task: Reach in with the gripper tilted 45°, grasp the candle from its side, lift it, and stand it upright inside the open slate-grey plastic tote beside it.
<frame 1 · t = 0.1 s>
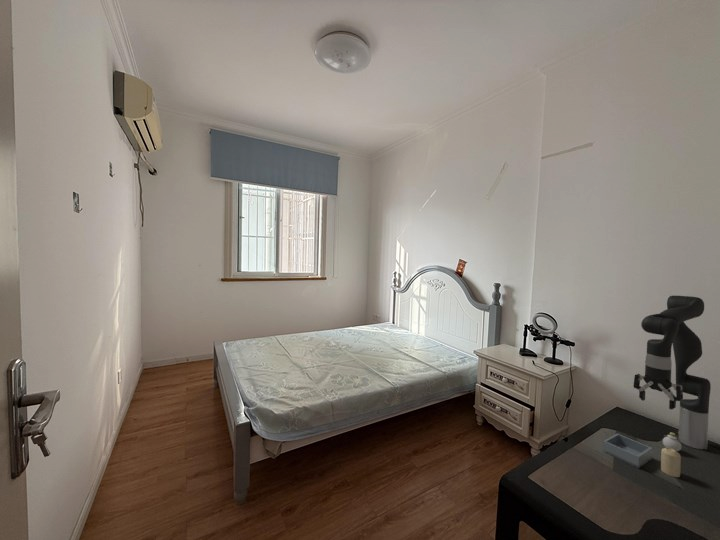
hand: (656, 404, 120), 29 cm above the table, tool pointing down, fingers open, 8 cm apart
ornament: (673, 451, 136), on the table
candle: (670, 473, 122), on the table
tote: (627, 455, 133), on the table
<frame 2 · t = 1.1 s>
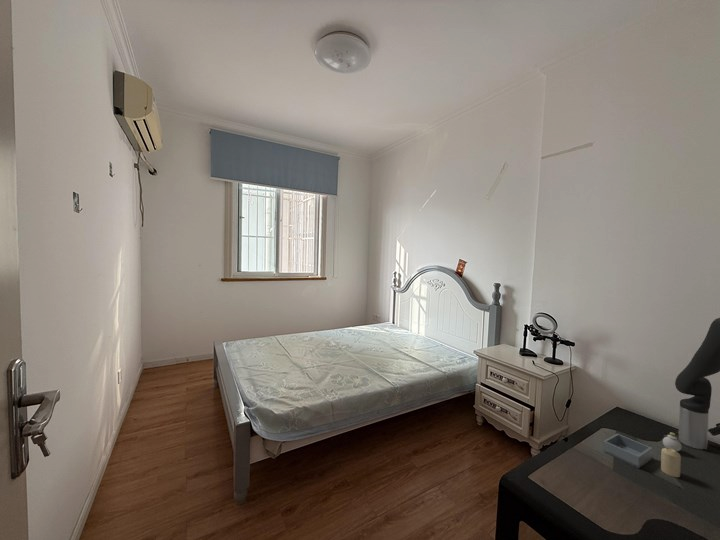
hand: (714, 430, 111), 24 cm above the table, tool tilted 45°, fingers open, 8 cm apart
nothing on the table moved.
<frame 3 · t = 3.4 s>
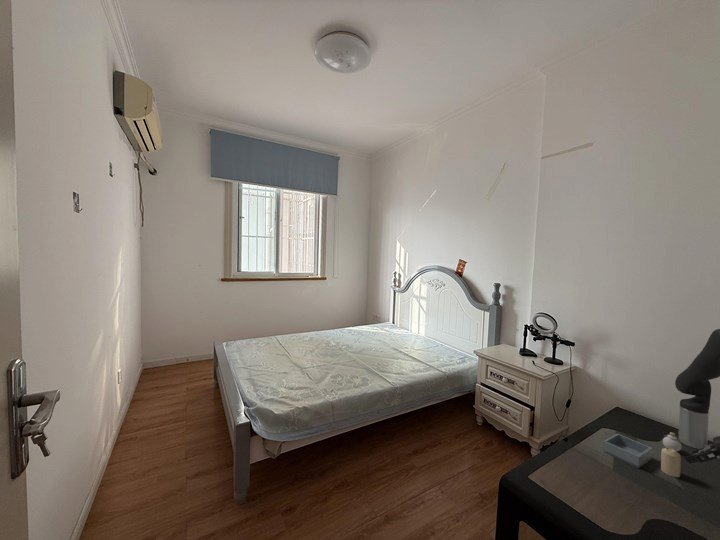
hand: (690, 457, 117), 10 cm above the table, tool tilted 45°, fingers open, 8 cm apart
nothing on the table moved.
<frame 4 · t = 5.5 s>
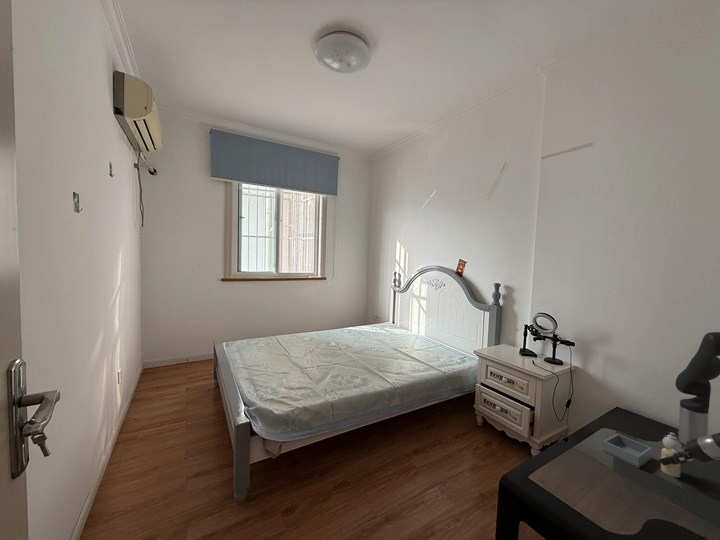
hand: (664, 460, 123), 4 cm above the table, tool tilted 45°, fingers closed on candle, 5 cm apart
candle: (670, 473, 122), on the table, touching gripper
everything else where it was.
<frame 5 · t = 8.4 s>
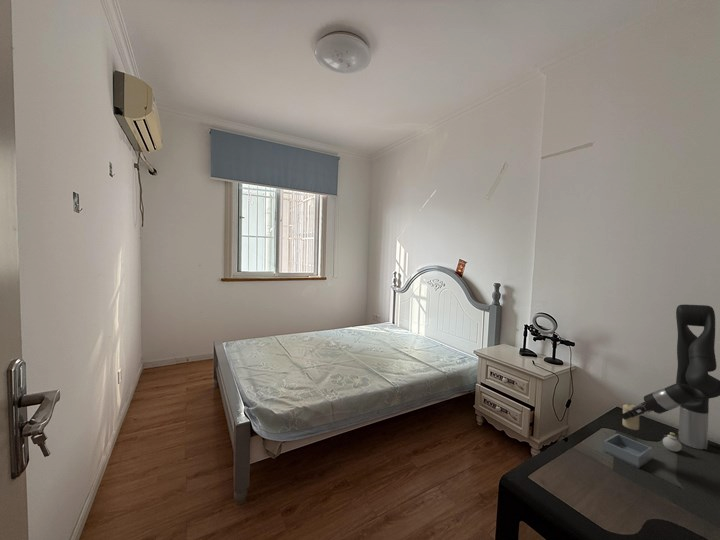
hand: (625, 415, 133), 18 cm above the table, tool tilted 45°, fingers closed on candle, 5 cm apart
candle: (630, 427, 132), point 13 cm above the table, touching gripper
everything else where it was.
when the fingers open (7 cm above the table, at t = 11.1 s): candle drops 2 cm, resting on tote.
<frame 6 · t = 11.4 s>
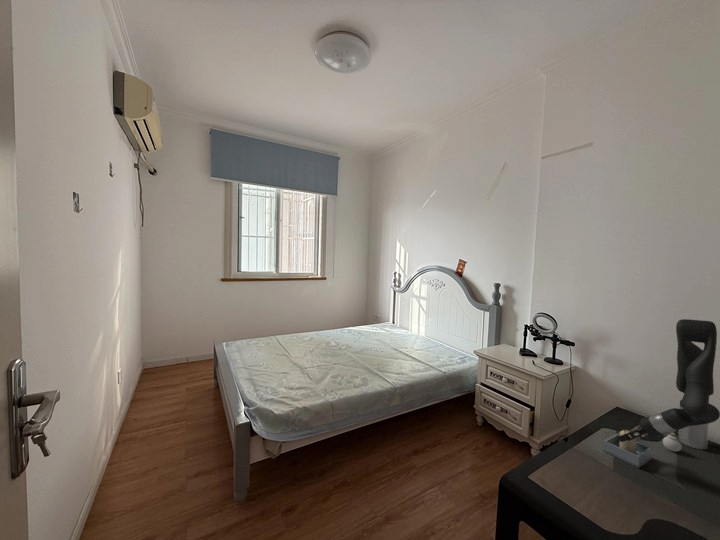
hand: (623, 437, 134), 8 cm above the table, tool tilted 45°, fingers open, 8 cm apart
candle: (627, 453, 133), point 1 cm above the table, touching tote
everything else where it was.
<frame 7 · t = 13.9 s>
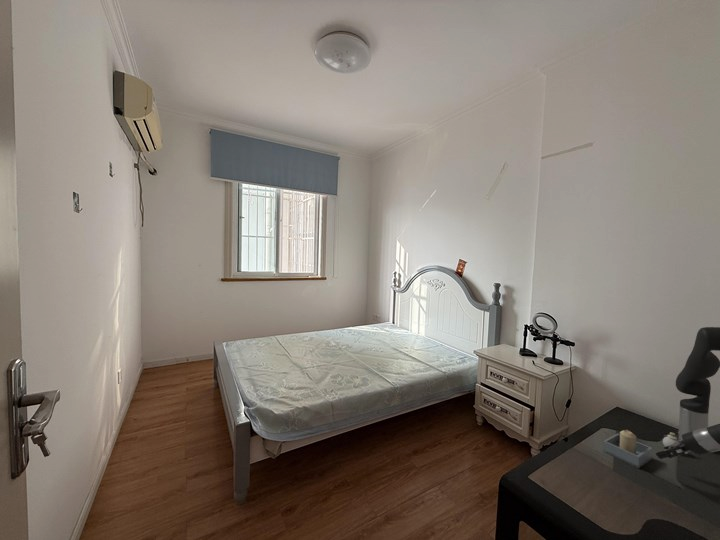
hand: (662, 453, 122), 8 cm above the table, tool tilted 45°, fingers open, 8 cm apart
nothing on the table moved.
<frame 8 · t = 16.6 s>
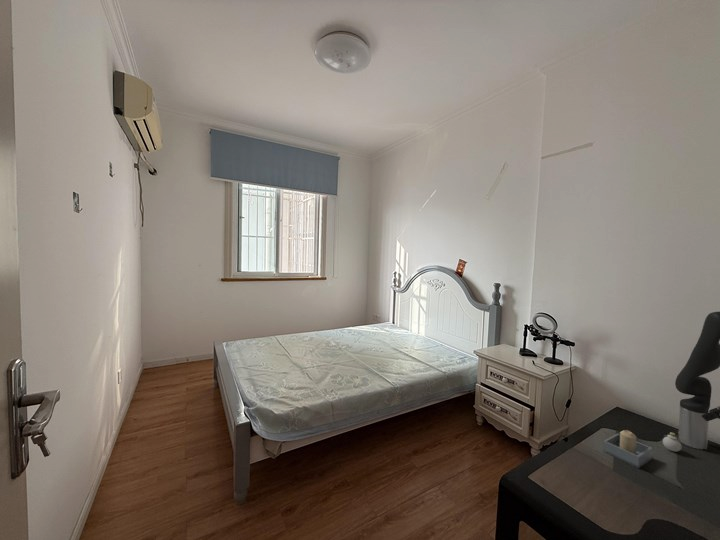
hand: (707, 415, 113), 29 cm above the table, tool tilted 45°, fingers open, 8 cm apart
nothing on the table moved.
at the end: candle inside the target area on the tote (0.2 cm from its centre), point 0.8 cm above the tote's base; candle tilted 0°; the gripper is holding nothing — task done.
